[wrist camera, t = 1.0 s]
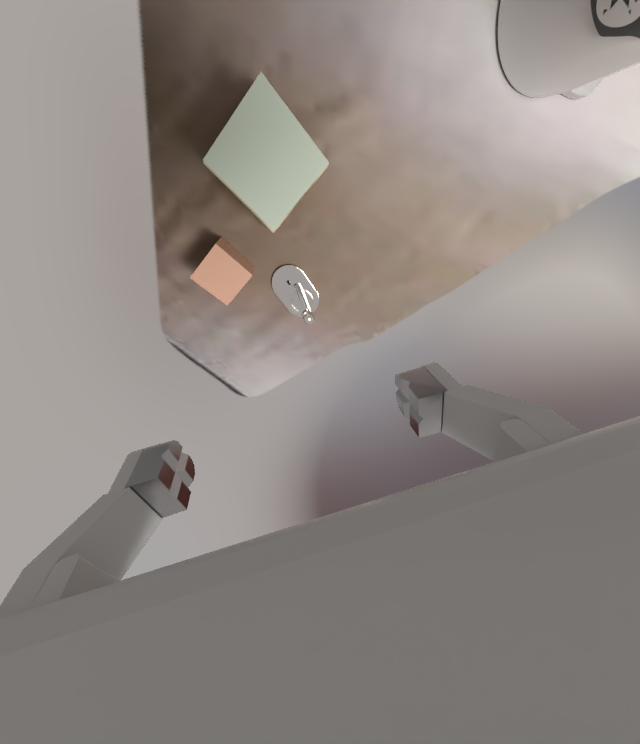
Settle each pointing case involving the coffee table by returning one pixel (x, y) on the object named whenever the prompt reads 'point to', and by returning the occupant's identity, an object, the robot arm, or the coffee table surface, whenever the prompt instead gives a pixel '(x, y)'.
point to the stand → (295, 291)
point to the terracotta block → (223, 271)
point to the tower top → (266, 154)
